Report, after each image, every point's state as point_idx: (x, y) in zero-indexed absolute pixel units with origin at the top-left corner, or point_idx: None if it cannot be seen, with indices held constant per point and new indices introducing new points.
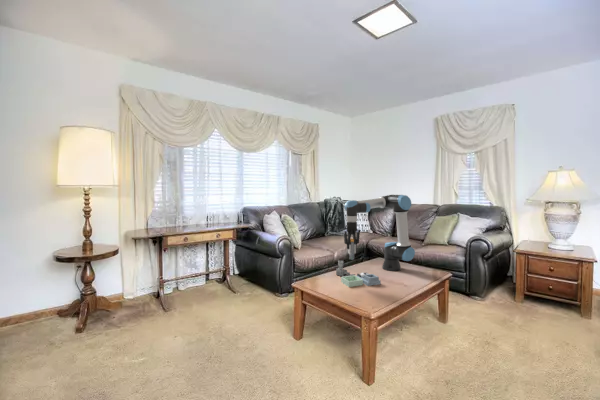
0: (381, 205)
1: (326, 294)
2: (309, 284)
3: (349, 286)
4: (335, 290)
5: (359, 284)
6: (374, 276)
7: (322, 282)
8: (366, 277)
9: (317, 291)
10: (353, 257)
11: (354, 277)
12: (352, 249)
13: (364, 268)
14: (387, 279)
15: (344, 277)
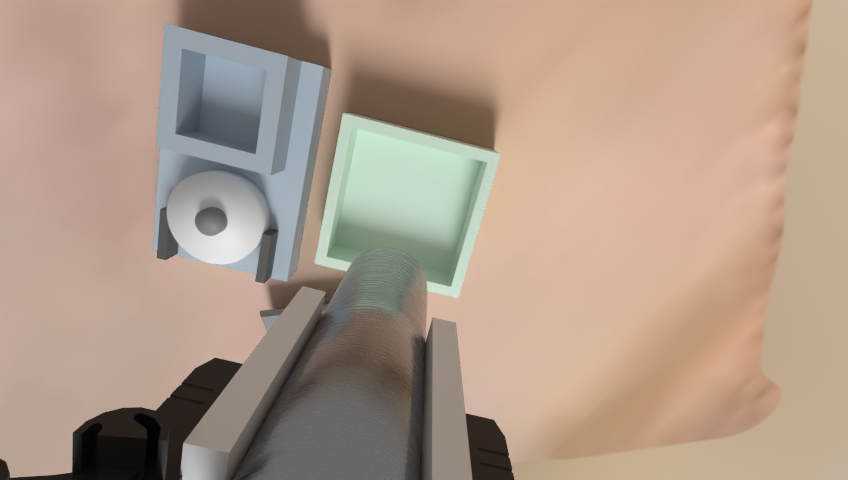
0: None
1: (775, 121)
2: (697, 372)
3: (486, 148)
4: (645, 151)
5: (386, 122)
6: (184, 87)
7: (585, 353)
8: (282, 115)
9: (773, 219)
10: (376, 260)
11: (330, 250)
12: (380, 350)
13: (49, 421)
14: (39, 91)
15: (431, 280)
